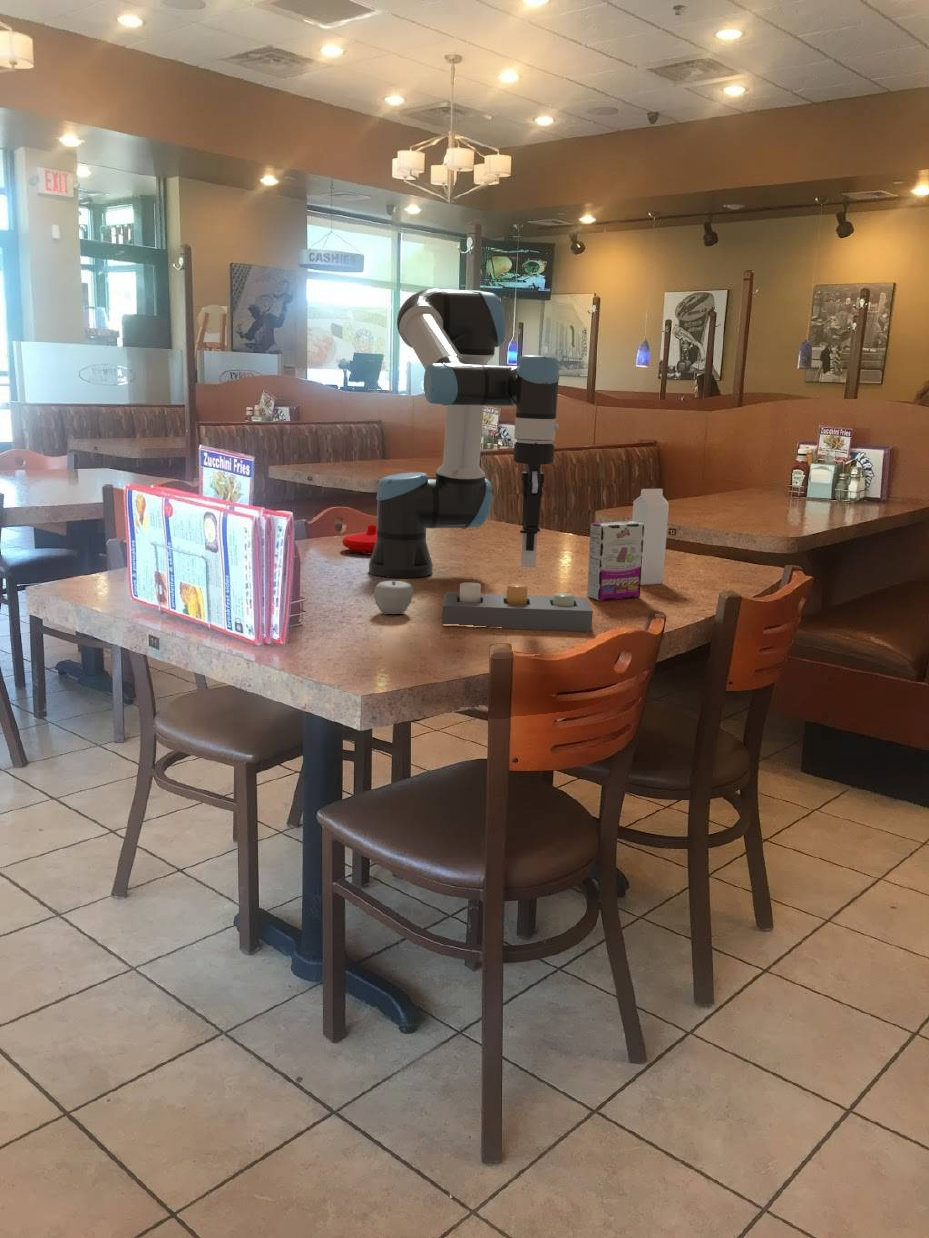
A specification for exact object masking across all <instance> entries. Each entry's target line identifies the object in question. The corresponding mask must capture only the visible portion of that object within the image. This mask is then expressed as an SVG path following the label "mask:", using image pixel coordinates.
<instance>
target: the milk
mask: <svg viewBox="0 0 929 1238" xmlns="http://www.w3.org/2000/svg"><path fill="white" fill-rule="evenodd" d="M663 491H664V489H663V488H642V489H641V490H640V496H638V497H637V498H636V499H634V500H633V502H632V504H633V506H632V515H631V516H632V517H631V521H635V522H639V523H643V524H644V536H643V553H642V569H641V586H646V585H662V584H663V583H664V582H663V581H664V573H665V571H664V570H665V560H666V559H665V558H666V546H667V535H668V533H667V532H668V523H669V522H668V521H669V509H670V503H669V502H668V500H667V499H666V498H665V497H664V495H663V494H664V492H663Z"/></svg>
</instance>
